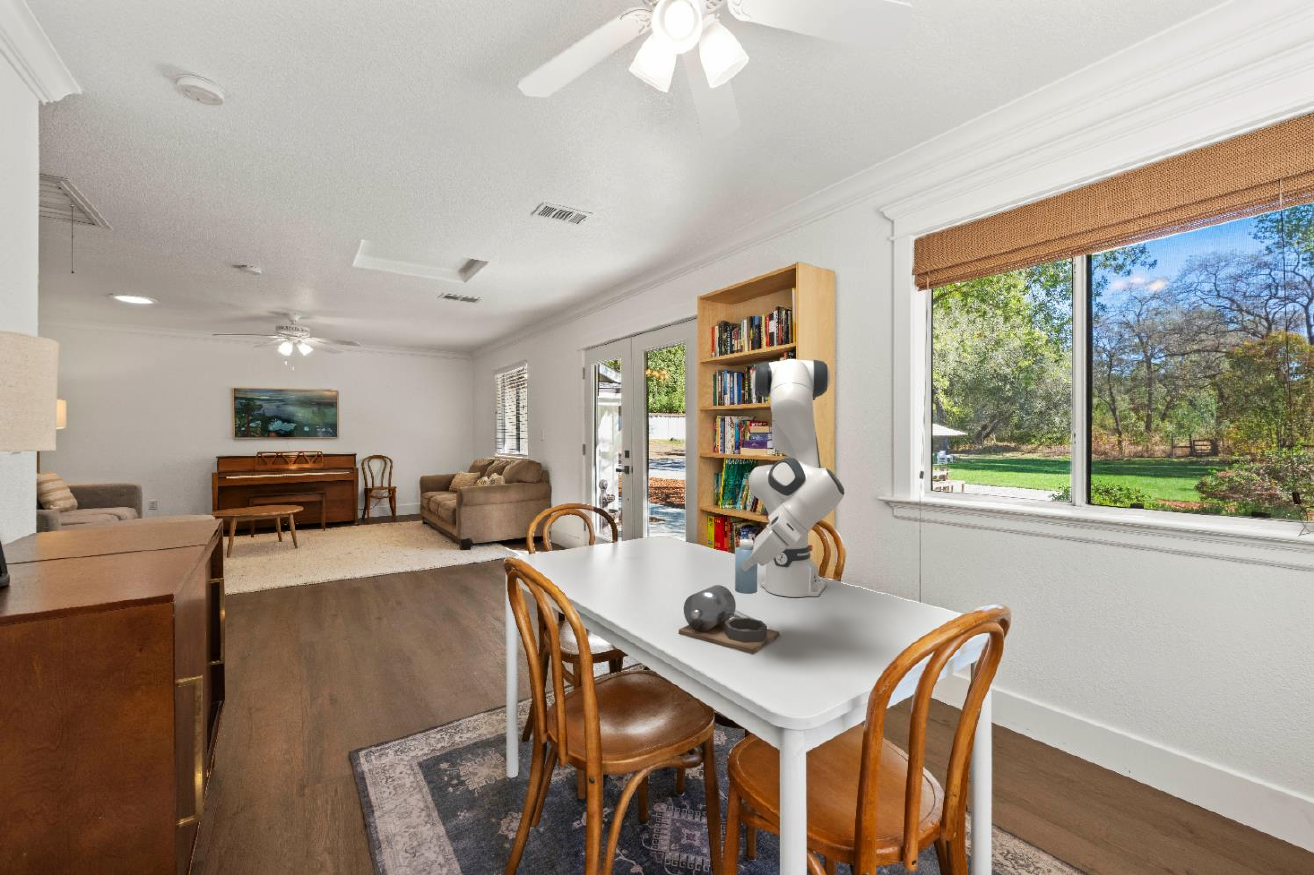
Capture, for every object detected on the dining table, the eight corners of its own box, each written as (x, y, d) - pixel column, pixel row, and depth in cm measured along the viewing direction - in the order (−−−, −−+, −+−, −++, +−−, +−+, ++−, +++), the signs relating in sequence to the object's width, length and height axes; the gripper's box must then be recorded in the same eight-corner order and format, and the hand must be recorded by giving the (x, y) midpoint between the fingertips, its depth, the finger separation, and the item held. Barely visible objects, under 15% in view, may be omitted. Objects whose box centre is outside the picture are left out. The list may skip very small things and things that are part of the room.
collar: (737, 625, 138) (738, 615, 138) (771, 633, 133) (771, 623, 133) (718, 636, 131) (719, 625, 131) (753, 645, 125) (754, 634, 125)
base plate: (709, 618, 146) (709, 614, 146) (779, 635, 134) (779, 631, 134) (678, 633, 135) (678, 629, 135) (752, 654, 123) (752, 649, 123)
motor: (705, 616, 145) (705, 582, 145) (735, 624, 139) (735, 588, 139) (678, 629, 135) (679, 592, 135) (710, 638, 130) (710, 599, 130)
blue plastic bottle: (741, 586, 135) (742, 537, 135) (761, 590, 132) (761, 540, 132) (731, 591, 131) (731, 540, 131) (750, 595, 128) (751, 543, 128)
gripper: (776, 510, 140) (737, 546, 142) (776, 522, 120) (730, 565, 122) (794, 528, 139) (754, 564, 142) (797, 544, 119) (750, 586, 122)
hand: (743, 565), depth 132 cm, fingers closed on blue plastic bottle, 5 cm apart
